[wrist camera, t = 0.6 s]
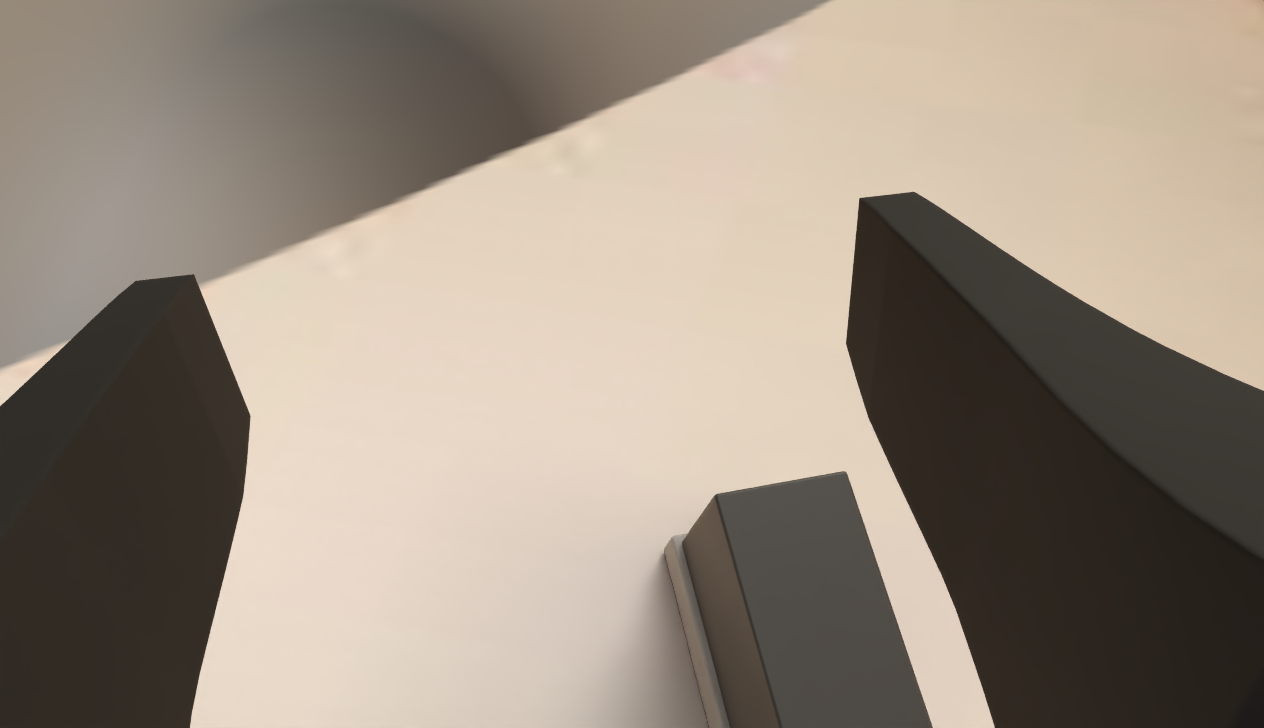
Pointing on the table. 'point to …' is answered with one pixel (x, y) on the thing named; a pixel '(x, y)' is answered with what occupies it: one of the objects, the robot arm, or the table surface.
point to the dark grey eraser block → (791, 612)
